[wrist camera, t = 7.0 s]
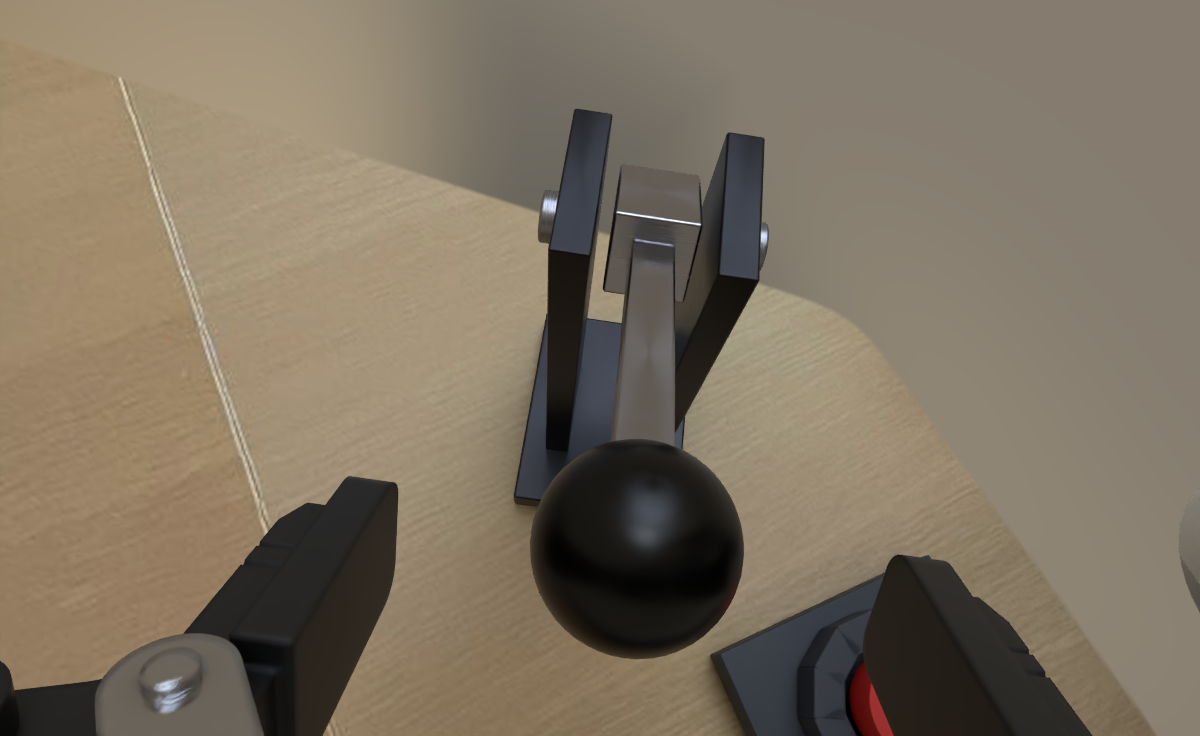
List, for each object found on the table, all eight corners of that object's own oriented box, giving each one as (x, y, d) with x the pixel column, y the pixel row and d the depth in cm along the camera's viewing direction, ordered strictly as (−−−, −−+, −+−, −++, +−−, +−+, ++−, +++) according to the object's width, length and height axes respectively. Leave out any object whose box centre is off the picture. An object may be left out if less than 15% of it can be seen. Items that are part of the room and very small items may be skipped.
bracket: (672, 526, 31) (801, 377, 15) (514, 503, 31) (486, 330, 15) (687, 344, 34) (803, 77, 19) (546, 323, 34) (549, 38, 19)
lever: (720, 711, 11) (783, 598, 9) (508, 682, 11) (518, 560, 9) (699, 267, 21) (726, 160, 19) (587, 250, 21) (601, 141, 19)
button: (911, 635, 27) (934, 633, 25) (964, 733, 25) (993, 737, 24) (830, 675, 26) (849, 675, 24) (882, 778, 25) (905, 786, 23)
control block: (909, 560, 31) (951, 547, 28) (1016, 749, 28) (1077, 759, 25) (710, 654, 29) (730, 652, 25) (804, 869, 26) (841, 896, 23)
